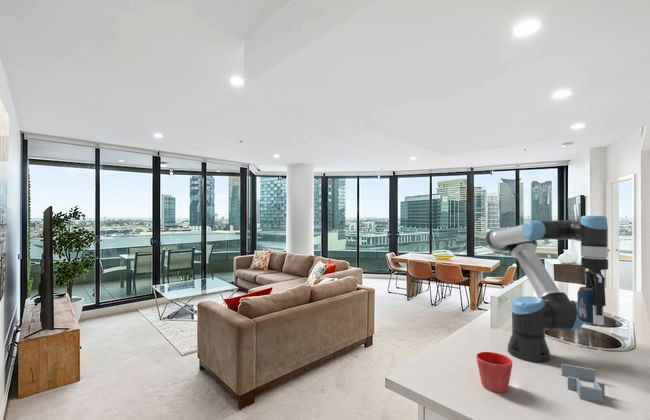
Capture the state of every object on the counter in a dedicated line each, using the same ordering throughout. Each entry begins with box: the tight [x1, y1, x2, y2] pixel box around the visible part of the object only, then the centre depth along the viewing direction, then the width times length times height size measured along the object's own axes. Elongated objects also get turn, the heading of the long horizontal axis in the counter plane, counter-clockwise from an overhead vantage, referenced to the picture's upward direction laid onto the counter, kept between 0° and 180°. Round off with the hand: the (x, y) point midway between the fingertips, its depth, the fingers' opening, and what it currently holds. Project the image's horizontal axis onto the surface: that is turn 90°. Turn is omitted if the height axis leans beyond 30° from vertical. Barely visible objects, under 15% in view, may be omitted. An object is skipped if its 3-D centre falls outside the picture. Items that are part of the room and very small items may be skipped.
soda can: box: [577, 286, 595, 325], centre depth 117 cm, size 7×7×12 cm
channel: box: [560, 363, 605, 404], centre depth 107 cm, size 10×16×4 cm, turn 152°
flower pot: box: [475, 351, 513, 393], centre depth 109 cm, size 11×11×10 cm
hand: (595, 320), depth 116 cm, fingers closed on soda can, 7 cm apart
